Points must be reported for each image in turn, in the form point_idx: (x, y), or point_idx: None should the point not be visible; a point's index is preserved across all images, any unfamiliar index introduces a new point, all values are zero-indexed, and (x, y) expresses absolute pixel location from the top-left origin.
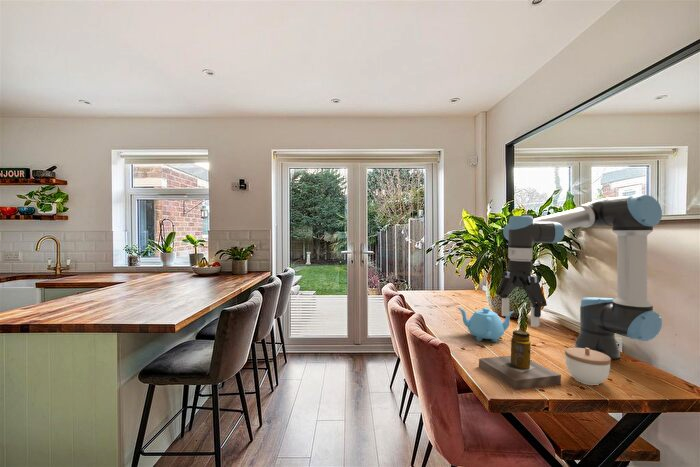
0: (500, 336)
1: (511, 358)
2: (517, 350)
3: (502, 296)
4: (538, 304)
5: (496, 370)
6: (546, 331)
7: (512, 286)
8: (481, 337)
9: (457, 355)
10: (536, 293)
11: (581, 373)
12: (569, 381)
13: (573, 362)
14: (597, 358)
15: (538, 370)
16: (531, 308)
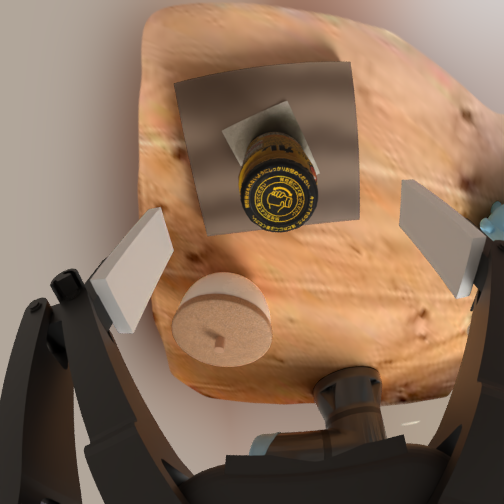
0: None
1: (281, 134)
2: (255, 147)
3: (491, 249)
4: (34, 303)
5: (258, 67)
6: (449, 368)
7: (455, 407)
8: (493, 211)
9: (427, 60)
10: (7, 376)
11: (197, 281)
12: (225, 255)
13: (209, 288)
14: (185, 335)
15: (238, 194)
16: (107, 269)
